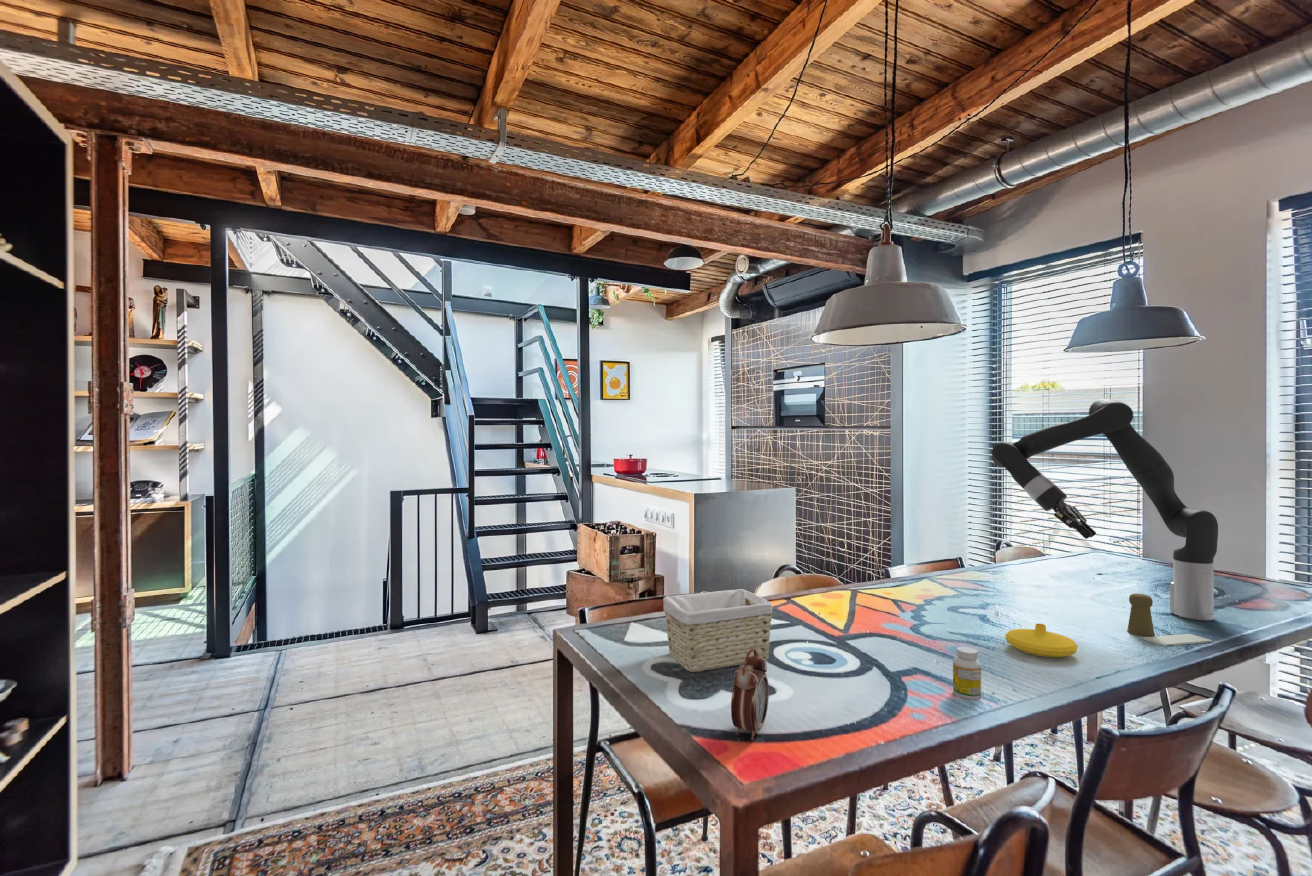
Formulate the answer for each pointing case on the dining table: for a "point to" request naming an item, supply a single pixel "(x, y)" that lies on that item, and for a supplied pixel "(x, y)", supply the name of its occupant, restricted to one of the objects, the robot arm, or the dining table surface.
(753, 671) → the alarm clock
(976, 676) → the supplement bottle
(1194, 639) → the pad
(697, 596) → the storage basket
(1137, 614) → the cork
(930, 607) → the dining table surface
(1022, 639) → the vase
